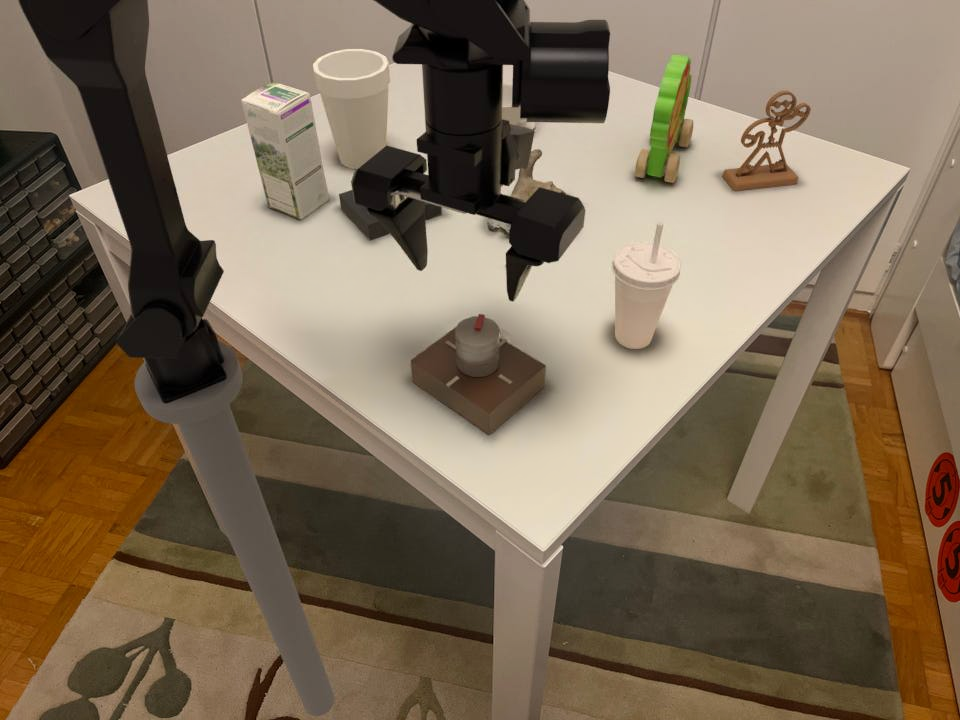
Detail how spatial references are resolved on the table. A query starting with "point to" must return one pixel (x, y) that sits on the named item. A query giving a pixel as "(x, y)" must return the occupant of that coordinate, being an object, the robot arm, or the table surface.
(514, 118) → the teacup
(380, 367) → the table surface
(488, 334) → the heat knob
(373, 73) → the foam cup
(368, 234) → the block
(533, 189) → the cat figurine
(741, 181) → the brown wooden figure
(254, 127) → the syrup box
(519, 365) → the panel
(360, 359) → the table surface
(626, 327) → the smoothie
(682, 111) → the toy lion
